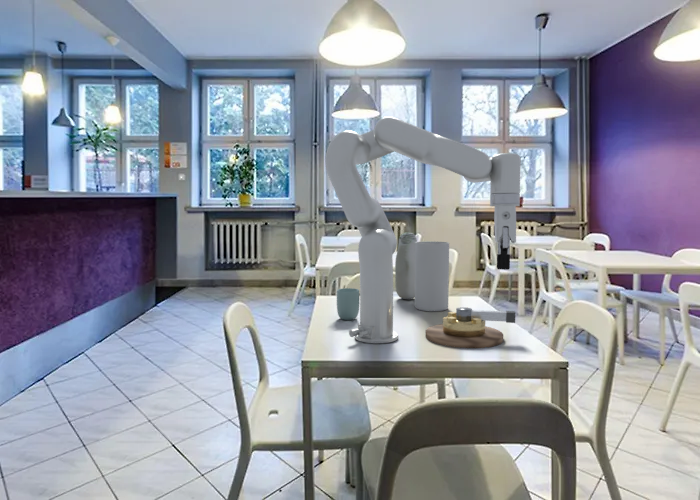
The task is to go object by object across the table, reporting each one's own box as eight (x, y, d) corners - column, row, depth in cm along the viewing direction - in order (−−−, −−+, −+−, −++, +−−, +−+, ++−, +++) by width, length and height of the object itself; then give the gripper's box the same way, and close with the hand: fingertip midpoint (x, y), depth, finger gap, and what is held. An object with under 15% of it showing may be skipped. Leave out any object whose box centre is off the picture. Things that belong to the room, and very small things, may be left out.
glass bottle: (393, 297, 201) (393, 231, 199) (417, 296, 202) (417, 231, 200) (397, 301, 192) (397, 232, 189) (421, 301, 192) (422, 232, 190)
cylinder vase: (451, 312, 172) (452, 243, 169) (416, 311, 172) (417, 243, 170) (444, 305, 184) (445, 241, 182) (412, 305, 184) (413, 241, 182)
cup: (339, 316, 166) (339, 287, 165) (361, 316, 164) (361, 288, 163) (334, 321, 158) (334, 291, 157) (357, 322, 156) (357, 292, 156)
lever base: (479, 353, 122) (479, 347, 121) (410, 337, 137) (410, 332, 137) (516, 336, 137) (516, 331, 137) (451, 324, 153) (451, 319, 152)
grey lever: (441, 335, 133) (442, 312, 132) (443, 325, 144) (443, 304, 144) (516, 339, 128) (517, 315, 127) (512, 328, 139) (512, 307, 139)
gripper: (522, 200, 117) (521, 273, 119) (516, 201, 132) (514, 266, 134) (491, 200, 119) (490, 272, 121) (488, 201, 134) (487, 265, 135)
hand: (503, 268), depth 127 cm, fingers closed
